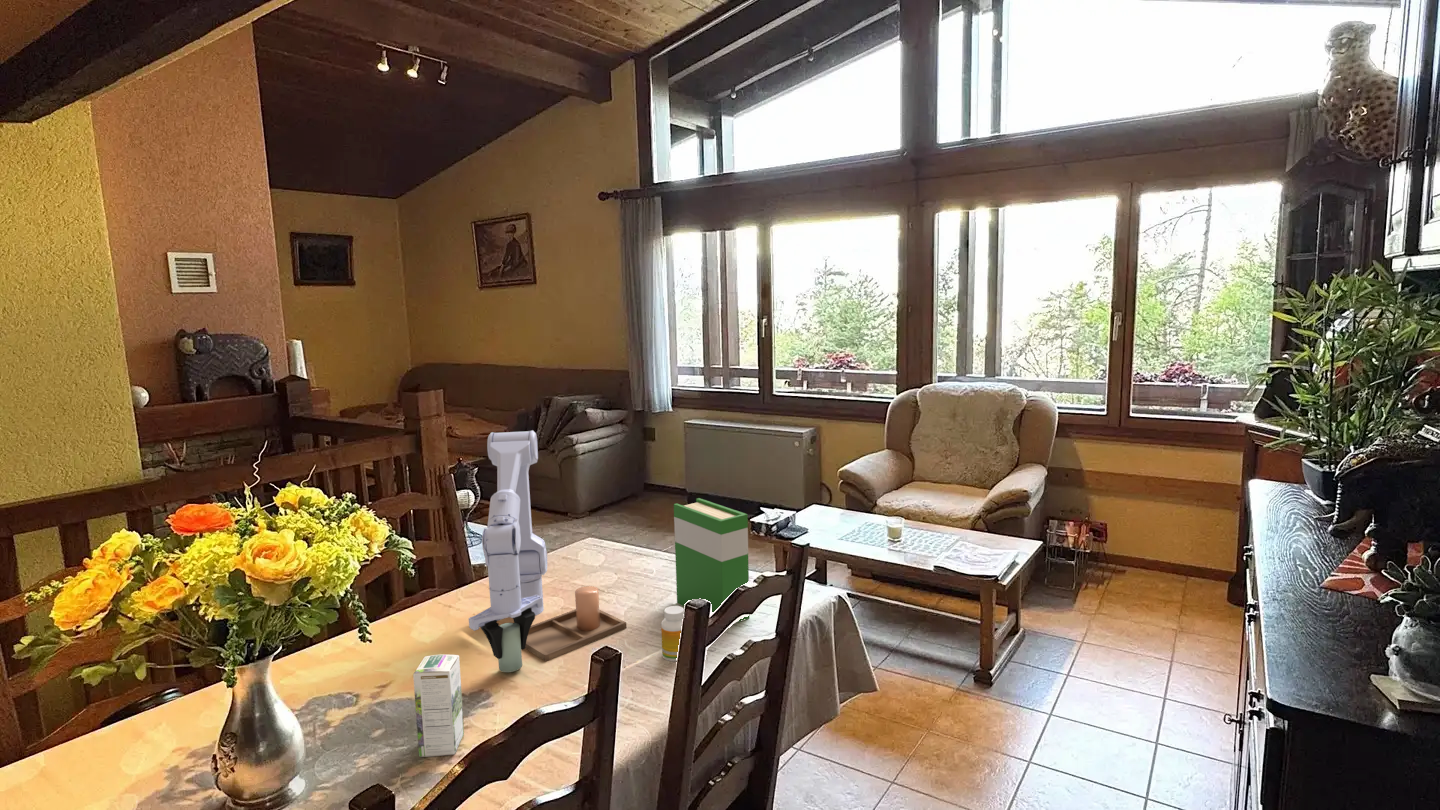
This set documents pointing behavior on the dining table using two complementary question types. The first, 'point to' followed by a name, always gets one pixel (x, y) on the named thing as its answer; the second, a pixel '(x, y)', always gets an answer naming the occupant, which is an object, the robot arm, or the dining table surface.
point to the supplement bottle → (671, 631)
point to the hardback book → (710, 551)
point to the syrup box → (438, 705)
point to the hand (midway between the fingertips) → (509, 652)
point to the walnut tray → (567, 634)
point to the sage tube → (510, 648)
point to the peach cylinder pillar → (587, 608)
